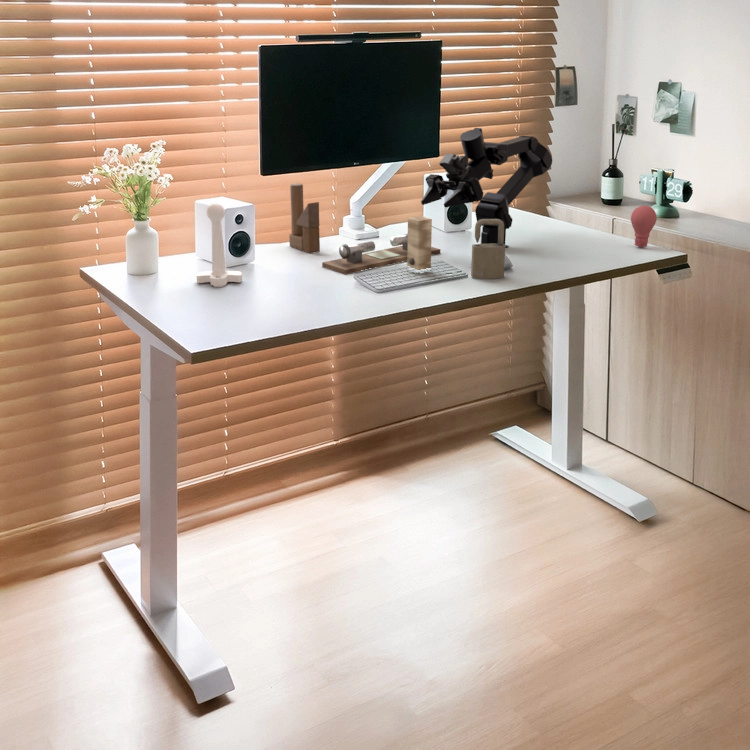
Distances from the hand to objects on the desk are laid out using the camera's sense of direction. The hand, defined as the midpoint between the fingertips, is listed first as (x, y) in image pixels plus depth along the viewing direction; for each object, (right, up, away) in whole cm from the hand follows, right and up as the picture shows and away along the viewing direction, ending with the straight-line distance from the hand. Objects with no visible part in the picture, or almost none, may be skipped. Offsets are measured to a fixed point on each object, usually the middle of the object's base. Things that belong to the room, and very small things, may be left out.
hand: (433, 204), depth 258 cm
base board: (-13, -13, +9) cm, 21 cm away
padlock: (+14, -20, -7) cm, 25 cm away
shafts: (-13, -12, +9) cm, 20 cm away
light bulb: (+61, -9, +22) cm, 65 cm away
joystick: (-55, -22, -12) cm, 60 cm away
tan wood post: (-4, -18, -1) cm, 18 cm away
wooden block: (-35, -9, +21) cm, 42 cm away
